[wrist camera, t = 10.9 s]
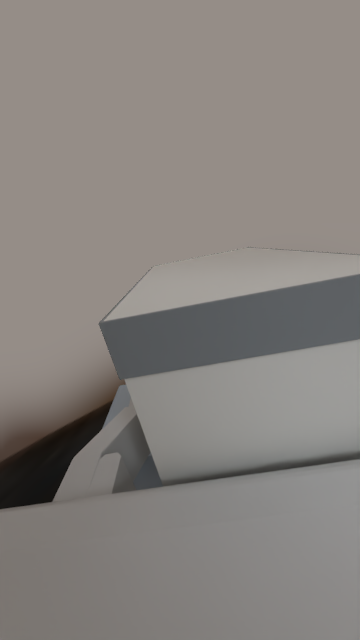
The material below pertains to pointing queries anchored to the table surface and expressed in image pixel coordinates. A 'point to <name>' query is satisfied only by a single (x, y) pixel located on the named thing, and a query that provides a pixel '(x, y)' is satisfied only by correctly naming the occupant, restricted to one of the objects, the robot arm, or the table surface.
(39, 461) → the table surface
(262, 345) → the block
